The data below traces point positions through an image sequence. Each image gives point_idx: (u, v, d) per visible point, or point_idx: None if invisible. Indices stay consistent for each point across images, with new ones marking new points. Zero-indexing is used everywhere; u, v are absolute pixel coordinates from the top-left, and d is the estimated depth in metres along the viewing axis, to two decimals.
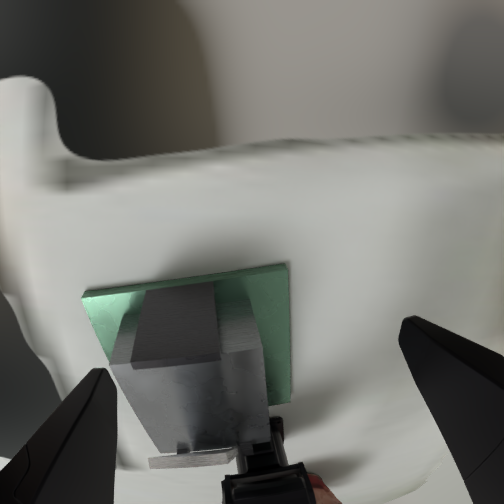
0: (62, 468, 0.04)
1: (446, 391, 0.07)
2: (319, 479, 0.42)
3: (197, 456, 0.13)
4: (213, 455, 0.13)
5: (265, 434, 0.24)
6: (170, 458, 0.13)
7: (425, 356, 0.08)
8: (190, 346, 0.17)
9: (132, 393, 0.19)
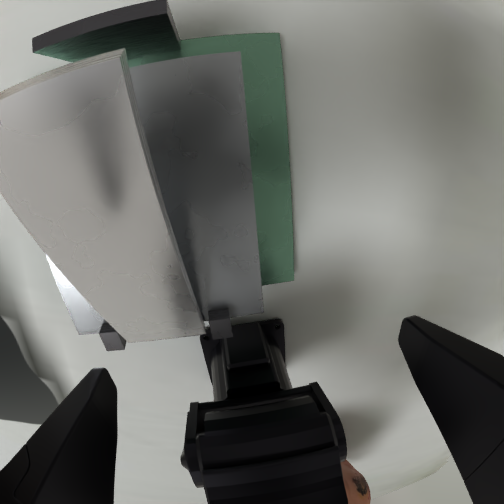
0: (62, 468, 0.04)
1: (446, 391, 0.07)
2: None
3: (57, 69, 0.05)
4: None
5: (252, 290, 0.15)
6: (4, 90, 0.04)
7: (425, 356, 0.08)
8: None
9: None
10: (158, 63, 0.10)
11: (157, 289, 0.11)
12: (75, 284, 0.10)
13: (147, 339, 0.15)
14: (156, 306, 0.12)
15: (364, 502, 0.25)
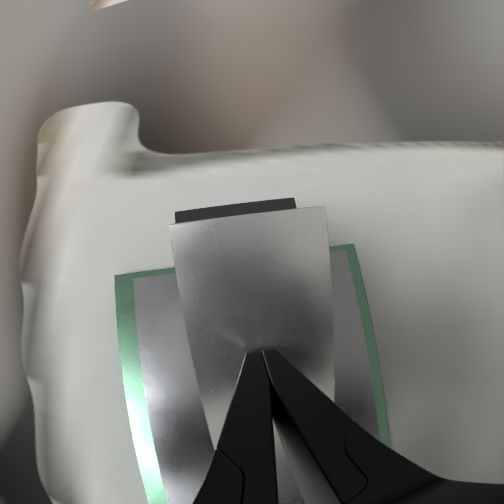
0: None
1: (288, 443, 0.06)
2: None
3: None
4: None
5: None
6: (215, 218, 0.08)
7: (272, 398, 0.07)
8: None
9: (152, 342, 0.13)
10: None
11: None
12: (216, 444, 0.09)
13: None
14: (293, 477, 0.09)
15: None
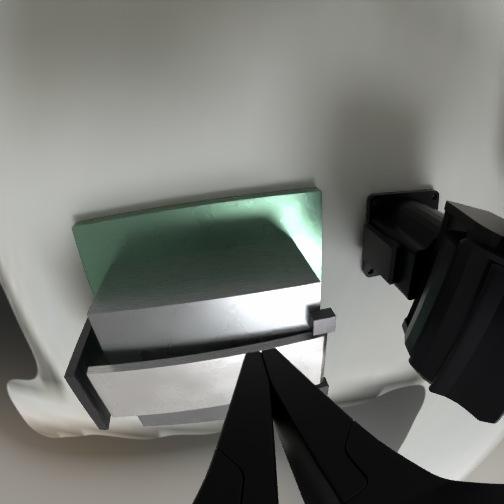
0: None
1: (288, 443, 0.06)
2: None
3: None
4: None
5: (294, 294, 0.16)
6: None
7: (272, 398, 0.07)
8: None
9: (181, 418, 0.19)
10: (108, 359, 0.16)
11: (234, 370, 0.16)
12: (222, 404, 0.17)
13: (318, 373, 0.18)
14: None
15: None
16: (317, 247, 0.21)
